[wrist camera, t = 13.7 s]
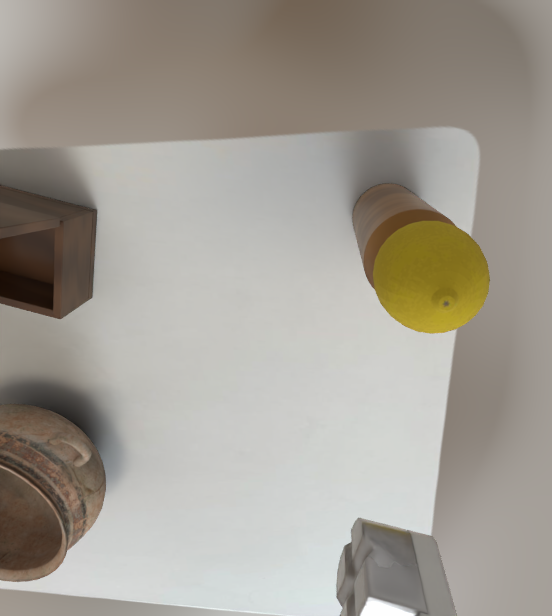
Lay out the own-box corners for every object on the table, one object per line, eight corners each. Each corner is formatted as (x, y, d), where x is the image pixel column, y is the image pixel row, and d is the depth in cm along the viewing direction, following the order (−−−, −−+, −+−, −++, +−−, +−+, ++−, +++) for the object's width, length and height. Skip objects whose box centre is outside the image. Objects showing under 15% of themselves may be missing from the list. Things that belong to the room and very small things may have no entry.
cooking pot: (49, 524, 60) (-16, 613, 49) (-56, 432, 56) (-153, 507, 44) (175, 451, 52) (133, 538, 41) (65, 337, 48) (-16, 400, 37)
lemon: (385, 198, 25) (408, 226, 17) (477, 223, 25) (539, 261, 17) (355, 284, 27) (364, 341, 20) (439, 307, 27) (481, 373, 19)
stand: (363, 175, 38) (381, 197, 25) (429, 192, 37) (482, 223, 25) (344, 240, 40) (351, 290, 27) (406, 256, 40) (442, 314, 27)
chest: (92, 297, 45) (60, 319, 40) (-20, 268, 46) (-66, 286, 40) (97, 210, 42) (63, 221, 36) (-25, 178, 42) (-77, 185, 37)
